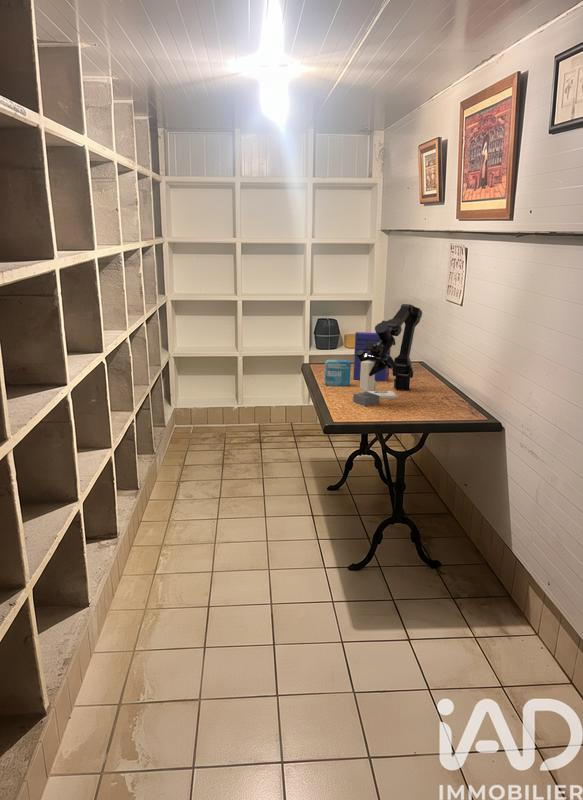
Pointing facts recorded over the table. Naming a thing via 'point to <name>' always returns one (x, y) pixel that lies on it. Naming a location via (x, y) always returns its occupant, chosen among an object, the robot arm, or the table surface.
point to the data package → (337, 372)
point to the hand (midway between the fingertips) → (365, 374)
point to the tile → (384, 394)
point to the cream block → (367, 376)
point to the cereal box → (360, 345)
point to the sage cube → (374, 387)
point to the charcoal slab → (366, 398)
